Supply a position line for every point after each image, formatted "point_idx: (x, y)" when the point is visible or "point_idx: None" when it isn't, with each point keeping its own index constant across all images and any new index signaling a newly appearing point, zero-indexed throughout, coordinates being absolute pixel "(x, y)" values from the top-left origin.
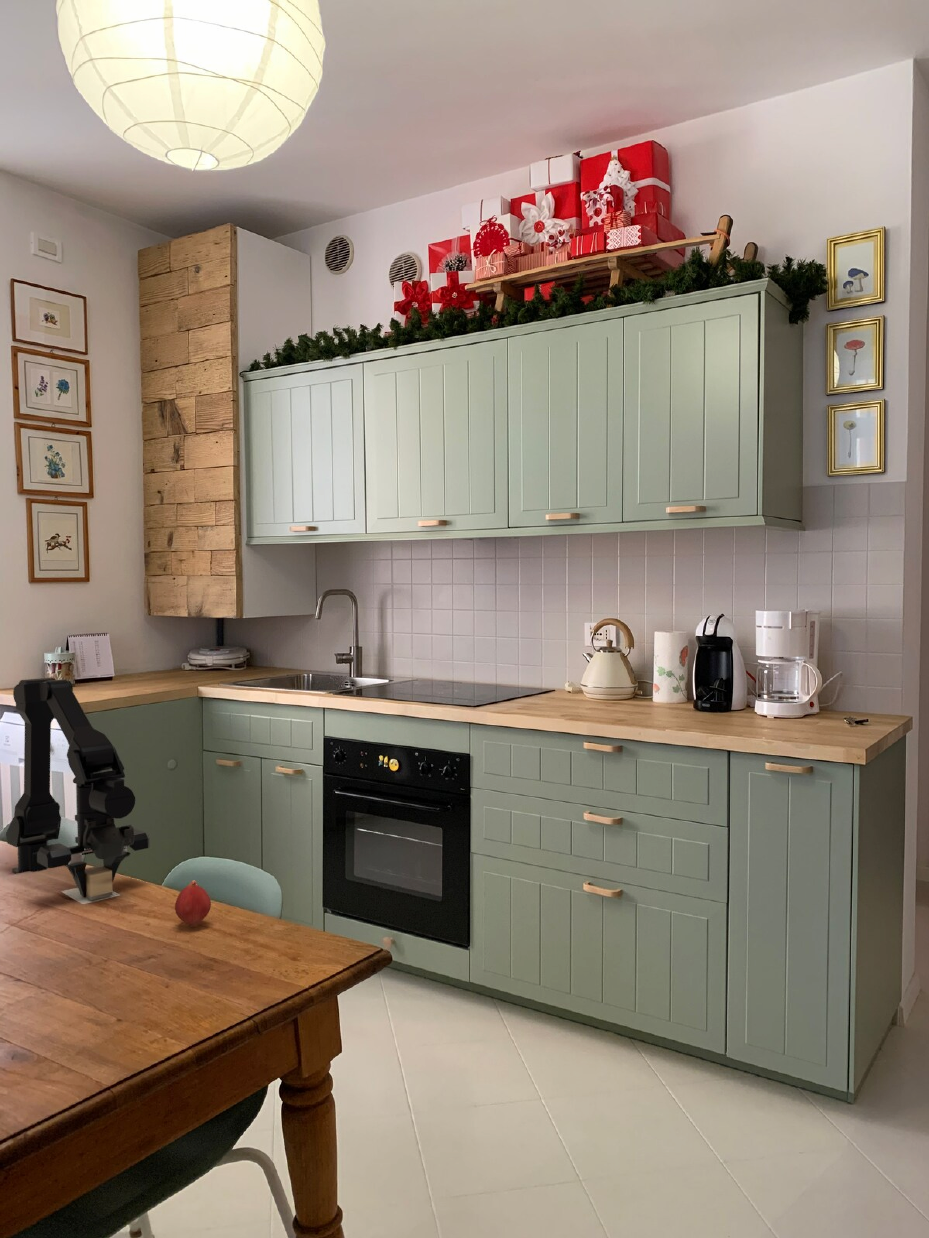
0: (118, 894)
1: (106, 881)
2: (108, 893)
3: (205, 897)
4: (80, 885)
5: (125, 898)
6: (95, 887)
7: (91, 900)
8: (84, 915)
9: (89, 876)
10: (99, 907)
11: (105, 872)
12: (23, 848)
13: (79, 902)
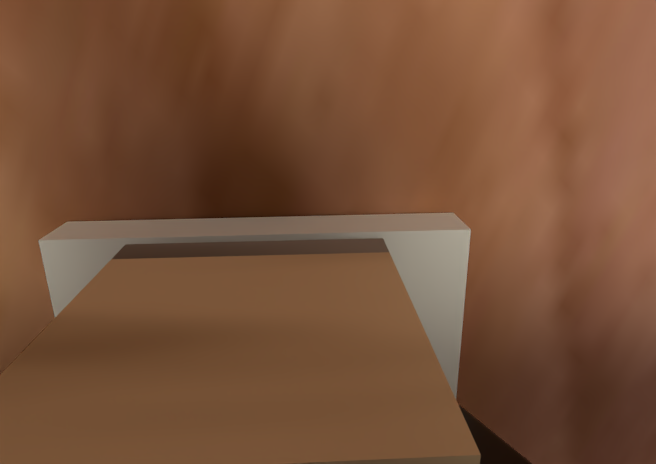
0: (55, 270)
1: (139, 339)
2: (168, 252)
3: None
4: (498, 446)
5: (10, 245)
6: (333, 303)
7: None
8: (523, 24)
9: (467, 460)
10: (309, 162)
11: (84, 462)
12: None
13: (462, 304)
